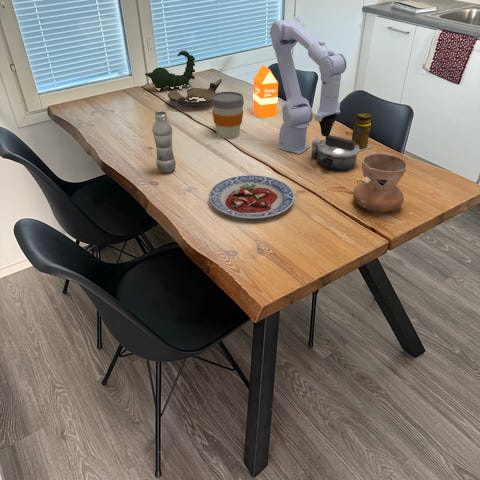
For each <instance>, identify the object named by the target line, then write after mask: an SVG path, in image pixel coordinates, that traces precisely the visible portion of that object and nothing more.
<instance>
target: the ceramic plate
mask: <svg viewBox="0 0 480 480" xmlns="http://www.w3.org/2000/svg"><path fill="white" fill-rule="evenodd" d="M208 196H209V202H210V204H211V205H212V206H213V207H214V208H215V209H217V211H219V212H221V213H223V214H225V215H228V216H232V217H234V218H235V217H236V218H241V219H250V220H251V219H265V218H270V217H273V216H274V217H275V216H277V215H280V214H282V213H284V212H286V211H287V210H289V209H290V208H291V207H292V205H293V204H294V202H295V197H296V196H295V193H294V191H293V189H292V188H291V186H289V185H288V184H286V183H285V182H283V181H281V180H279V179H277V178H273V177H269V176H265V175H258V174H257V175H254V174H253V175H250V174H249V175H248V174H247V175H237V176H233V177H229V178H226V179H224V180H222V181H220V182H218V183H217V184H215V185H214V186H213V187H212V188H211V190H210V191H209V195H208Z"/></svg>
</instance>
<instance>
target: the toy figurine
mask: <svg viewBox="0 0 480 480" xmlns="http://www.w3.org/2000/svg"><path fill="white" fill-rule="evenodd" d="M180 56H184V57H185V58H186V63H185V64H186V65H185V69H184V72H183V74H181V75H180V74H177V75H176V74H175V73H172V72H171V73H170V72H169V70H168V69H166V68H164V67H161V66H159V67H156V68H154V69H153V70H152V71H151V72H148V73H146V72H145V73H144V76H146V77H147V78H149V79H150V80H151V82H152V84H153V85H154V86H155V87H156V88H162V89H163V88H165V87H166V88H167V86H169V87H174V86H181V85H183V86H186V85H189V84H190V80H195V77H196V76H195V75H193V73H196V69H194V67H196V63H195V61H196V58H195V57H194V56H193V55H192V54H189V52H188V50H187V51H186V50H180V51H179V52H178V54H177V57H180ZM184 84H186V85H184ZM190 85H191V84H190ZM169 87H168V88H169ZM156 88H155V89H156Z"/></svg>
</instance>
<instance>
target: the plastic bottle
mask: <svg viewBox="0 0 480 480" xmlns="http://www.w3.org/2000/svg"><path fill="white" fill-rule="evenodd" d="M167 116H168V115H167V112H166V111H163V110H162V111H155V113H154V120H155V122H154V124H153V126H152V135H153V138H154V142H155V143H154V144H155V149H156V159H155V161H156V167H157V170H158V171H159V172H161V173H166V174H168V173H172V172H174V170H175V169H176V165H177V163H176V159H175V155H174V151H173V127H172V125H171V124H170V122H169V121H168V120H167V119H168V117H167Z"/></svg>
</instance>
